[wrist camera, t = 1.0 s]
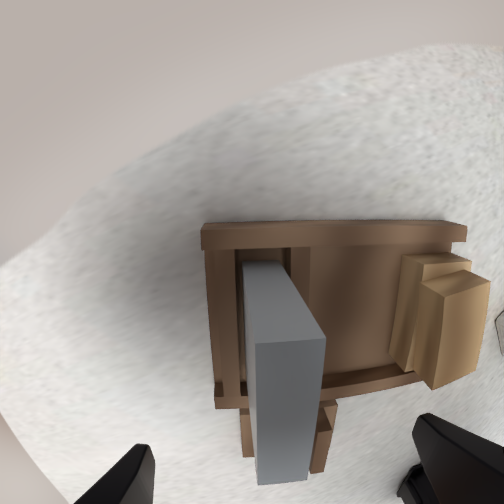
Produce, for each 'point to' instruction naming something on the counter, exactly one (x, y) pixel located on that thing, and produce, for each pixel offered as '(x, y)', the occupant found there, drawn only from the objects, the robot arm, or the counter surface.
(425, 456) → the robot arm
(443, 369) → the offcut
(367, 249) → the rack
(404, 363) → the offcut
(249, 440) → the stand
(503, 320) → the skincare box
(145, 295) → the counter surface
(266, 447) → the gray rectangular block
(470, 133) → the counter surface
